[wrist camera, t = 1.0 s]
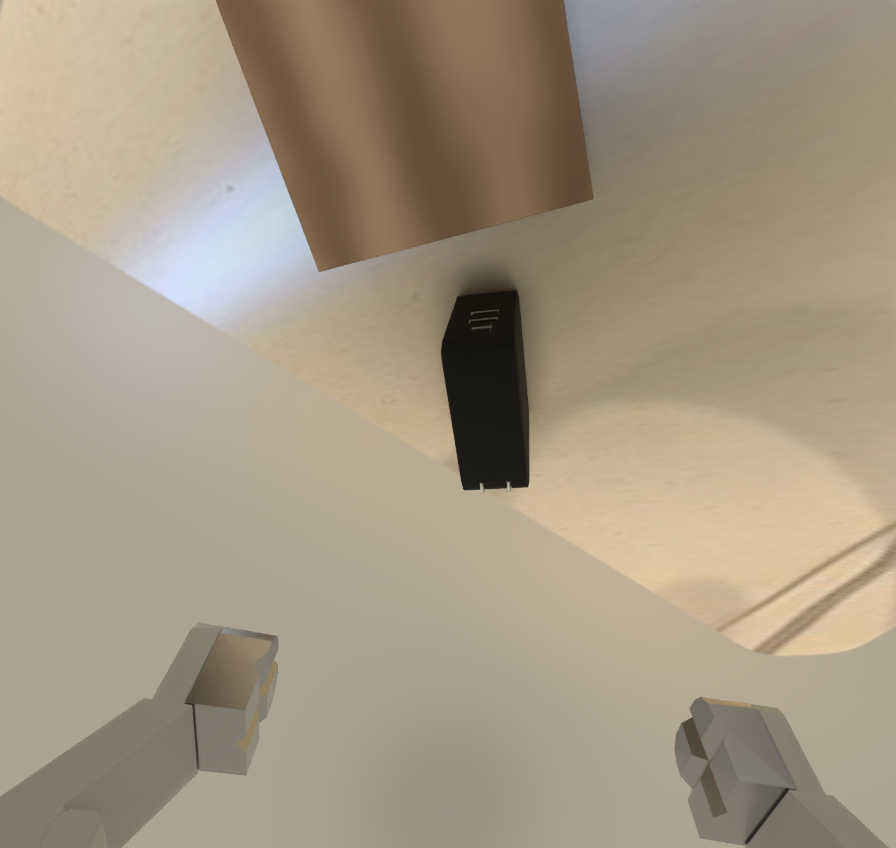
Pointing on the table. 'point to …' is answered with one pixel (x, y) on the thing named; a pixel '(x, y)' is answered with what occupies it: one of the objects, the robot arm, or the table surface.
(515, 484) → the electronic device
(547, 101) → the walnut box
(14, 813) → the robot arm
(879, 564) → the table surface
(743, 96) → the table surface
